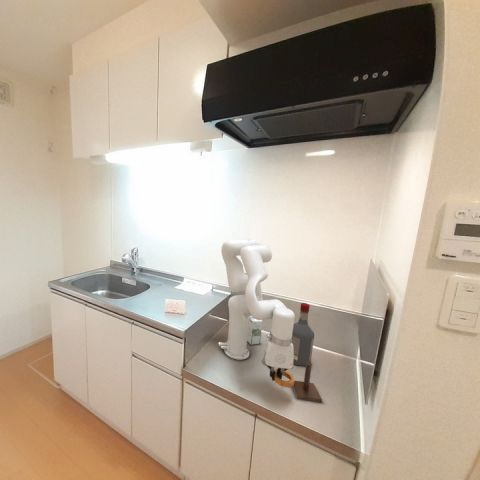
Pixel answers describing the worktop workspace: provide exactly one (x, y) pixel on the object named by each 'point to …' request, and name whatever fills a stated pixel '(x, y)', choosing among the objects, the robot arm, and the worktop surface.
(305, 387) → the stand
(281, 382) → the ring
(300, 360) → the liquor
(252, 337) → the syrup box
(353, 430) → the worktop surface
